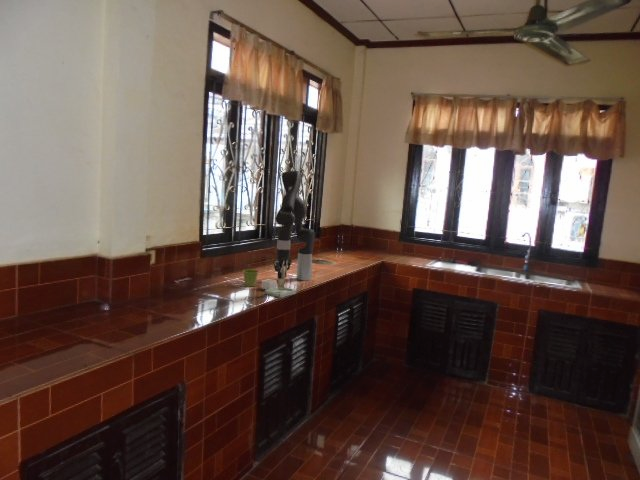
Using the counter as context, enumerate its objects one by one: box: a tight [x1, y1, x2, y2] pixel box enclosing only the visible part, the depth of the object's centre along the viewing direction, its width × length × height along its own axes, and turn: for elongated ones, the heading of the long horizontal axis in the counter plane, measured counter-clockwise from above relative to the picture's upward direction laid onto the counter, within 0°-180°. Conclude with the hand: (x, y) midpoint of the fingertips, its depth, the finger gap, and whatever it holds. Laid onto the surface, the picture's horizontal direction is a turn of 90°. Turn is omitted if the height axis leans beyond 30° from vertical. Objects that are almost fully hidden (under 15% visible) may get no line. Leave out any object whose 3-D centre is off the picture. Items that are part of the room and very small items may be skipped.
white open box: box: [261, 278, 278, 291], centre depth 270 cm, size 6×6×5 cm
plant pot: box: [242, 269, 259, 287], centre depth 276 cm, size 9×9×9 cm
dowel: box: [277, 266, 286, 291], centre depth 261 cm, size 3×3×14 cm
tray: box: [264, 286, 298, 299], centre depth 262 cm, size 15×11×2 cm
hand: (281, 278), depth 261 cm, fingers closed on dowel, 3 cm apart
